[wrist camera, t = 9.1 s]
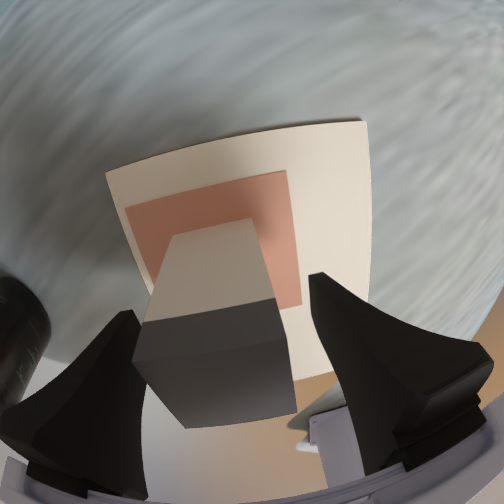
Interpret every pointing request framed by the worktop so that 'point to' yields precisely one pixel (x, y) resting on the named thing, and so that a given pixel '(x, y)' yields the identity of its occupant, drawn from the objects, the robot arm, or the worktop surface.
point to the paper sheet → (263, 212)
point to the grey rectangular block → (216, 331)
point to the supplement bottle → (19, 339)
